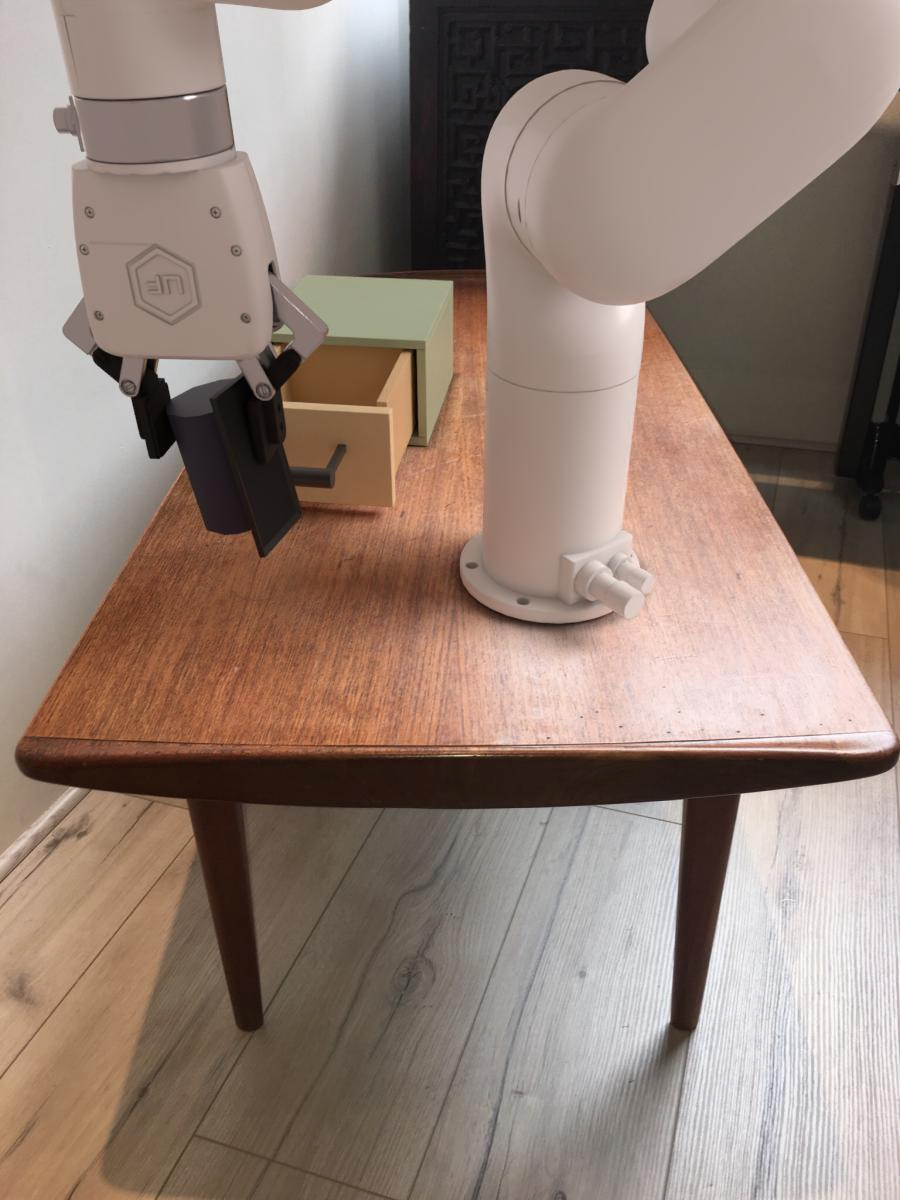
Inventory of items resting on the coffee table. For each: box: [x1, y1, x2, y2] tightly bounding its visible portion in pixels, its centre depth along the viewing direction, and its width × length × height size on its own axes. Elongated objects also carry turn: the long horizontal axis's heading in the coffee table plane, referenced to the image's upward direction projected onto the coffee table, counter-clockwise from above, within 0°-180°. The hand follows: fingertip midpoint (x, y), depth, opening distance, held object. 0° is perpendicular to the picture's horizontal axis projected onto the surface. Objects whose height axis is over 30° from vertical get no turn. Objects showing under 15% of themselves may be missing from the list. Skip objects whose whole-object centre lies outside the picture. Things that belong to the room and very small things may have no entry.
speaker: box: [166, 372, 304, 559], centre depth 61 cm, size 8×6×10 cm
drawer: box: [273, 342, 417, 508], centre depth 79 cm, size 21×13×8 cm, turn 172°
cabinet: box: [270, 274, 454, 447], centre depth 92 cm, size 17×15×10 cm
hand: (216, 448), depth 61 cm, fingers closed on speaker, 6 cm apart
